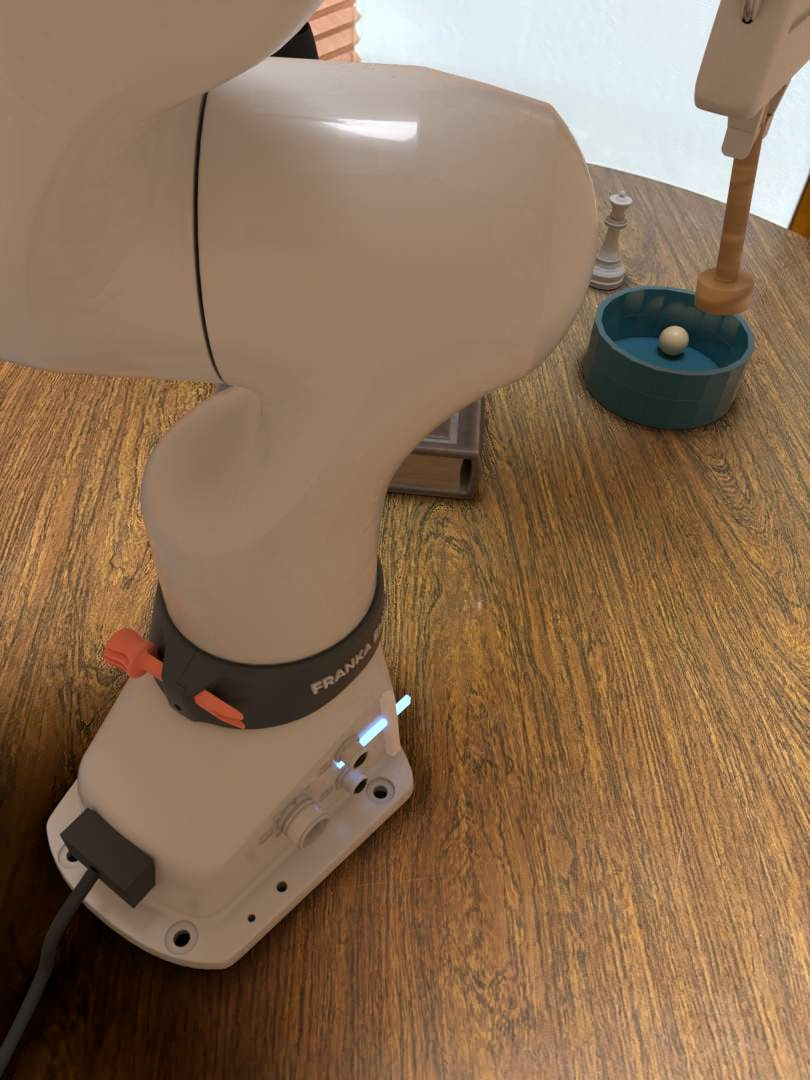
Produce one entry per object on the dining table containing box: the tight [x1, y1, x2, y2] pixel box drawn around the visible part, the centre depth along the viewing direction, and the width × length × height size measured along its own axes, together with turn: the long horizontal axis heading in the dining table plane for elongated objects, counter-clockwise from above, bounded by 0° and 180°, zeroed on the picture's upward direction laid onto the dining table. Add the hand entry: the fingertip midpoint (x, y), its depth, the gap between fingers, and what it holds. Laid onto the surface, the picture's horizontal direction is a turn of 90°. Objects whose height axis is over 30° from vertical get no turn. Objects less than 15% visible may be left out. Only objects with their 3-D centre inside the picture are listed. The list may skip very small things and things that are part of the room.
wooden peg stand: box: [694, 103, 769, 315], centre depth 59 cm, size 4×4×17 cm
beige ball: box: [659, 326, 689, 355], centre depth 83 cm, size 3×3×3 cm
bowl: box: [582, 285, 756, 430], centre depth 80 cm, size 14×14×6 cm
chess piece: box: [589, 189, 633, 291], centre depth 91 cm, size 4×4×10 cm
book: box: [211, 383, 486, 500], centre depth 79 cm, size 30×22×5 cm
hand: (742, 147), depth 57 cm, fingers closed on wooden peg stand, 2 cm apart
